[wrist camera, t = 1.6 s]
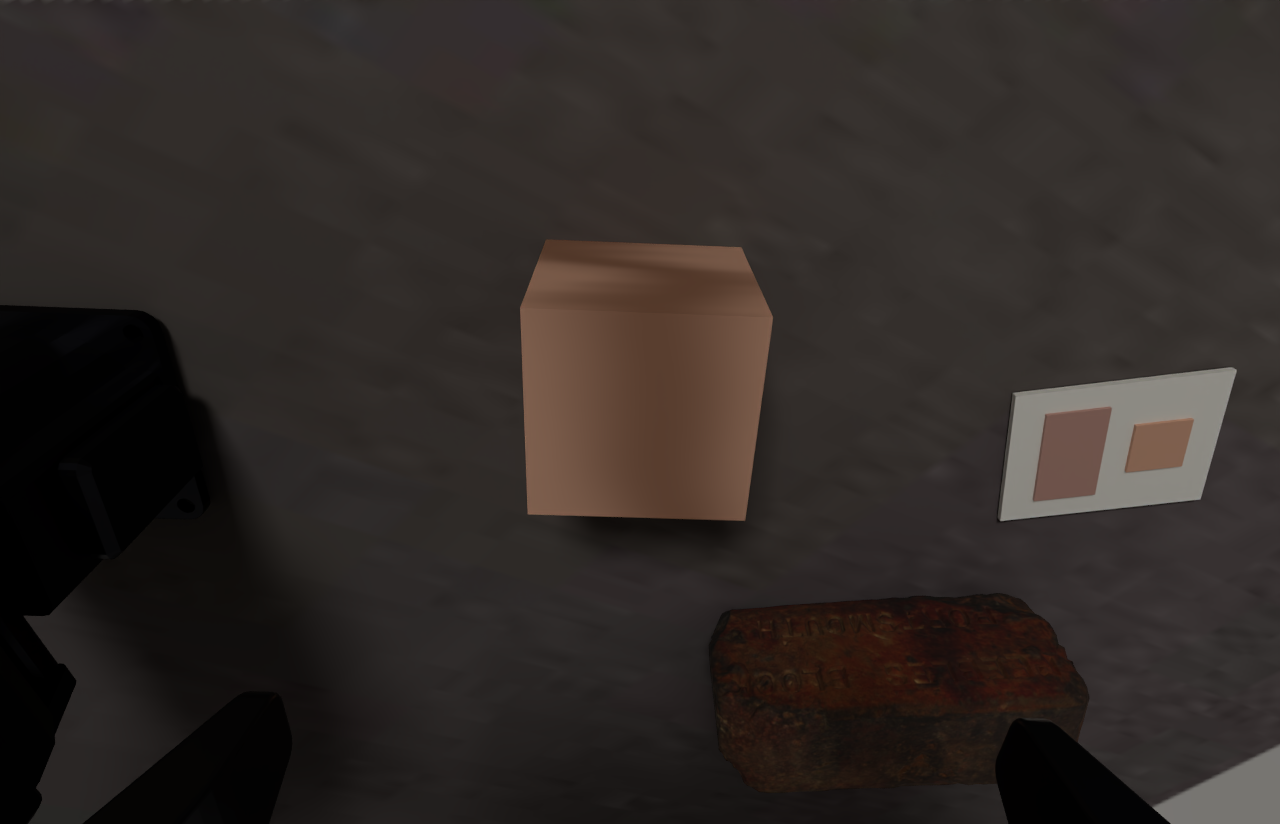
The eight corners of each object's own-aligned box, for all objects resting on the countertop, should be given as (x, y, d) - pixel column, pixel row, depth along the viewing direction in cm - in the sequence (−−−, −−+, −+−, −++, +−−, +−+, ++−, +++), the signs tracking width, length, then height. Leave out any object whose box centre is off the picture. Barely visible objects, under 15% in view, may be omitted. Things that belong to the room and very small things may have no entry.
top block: (549, 410, 21) (527, 514, 17) (546, 238, 19) (520, 307, 15) (722, 415, 21) (744, 520, 17) (740, 246, 19) (773, 317, 15)
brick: (1023, 579, 25) (1100, 694, 20) (1006, 664, 26) (1074, 785, 22) (704, 602, 25) (717, 719, 21) (709, 684, 27) (722, 806, 23)
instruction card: (997, 516, 23) (1001, 523, 23) (1012, 393, 21) (1017, 397, 21) (1195, 495, 23) (1202, 501, 22) (1231, 367, 21) (1239, 371, 20)
